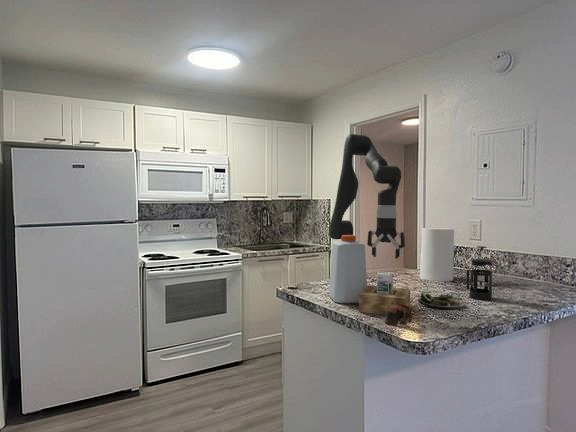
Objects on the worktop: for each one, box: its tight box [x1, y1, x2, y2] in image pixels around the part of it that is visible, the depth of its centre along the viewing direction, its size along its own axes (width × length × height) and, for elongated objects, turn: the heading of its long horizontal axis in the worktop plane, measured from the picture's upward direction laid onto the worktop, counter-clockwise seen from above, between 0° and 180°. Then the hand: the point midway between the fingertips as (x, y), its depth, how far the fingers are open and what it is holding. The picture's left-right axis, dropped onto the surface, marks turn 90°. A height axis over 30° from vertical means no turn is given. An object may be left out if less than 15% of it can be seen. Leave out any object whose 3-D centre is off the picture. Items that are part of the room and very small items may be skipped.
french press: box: [466, 245, 494, 301], centre depth 179 cm, size 12×9×23 cm
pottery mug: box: [384, 302, 413, 327], centre depth 141 cm, size 12×10×8 cm
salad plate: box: [416, 291, 466, 310], centre depth 169 cm, size 19×18×5 cm
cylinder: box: [419, 227, 455, 282], centre depth 223 cm, size 17×17×28 cm
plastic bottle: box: [328, 234, 368, 304], centre depth 175 cm, size 15×15×28 cm
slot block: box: [358, 284, 411, 316], centre depth 160 cm, size 17×17×7 cm
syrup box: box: [376, 271, 394, 295], centre depth 160 cm, size 6×6×14 cm
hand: (385, 257), depth 159 cm, fingers open, 8 cm apart
